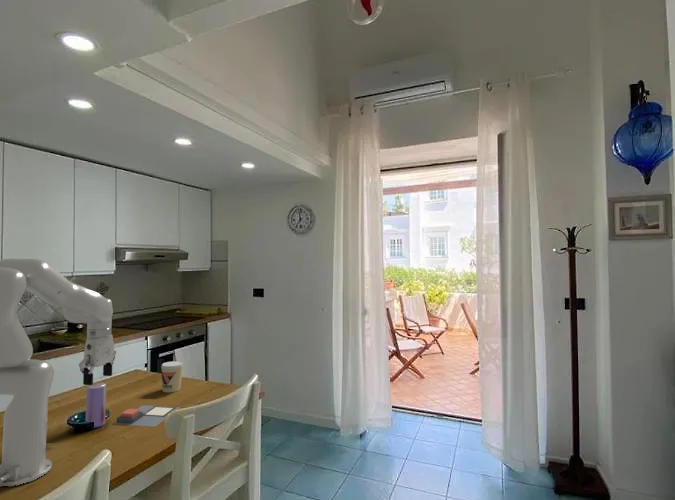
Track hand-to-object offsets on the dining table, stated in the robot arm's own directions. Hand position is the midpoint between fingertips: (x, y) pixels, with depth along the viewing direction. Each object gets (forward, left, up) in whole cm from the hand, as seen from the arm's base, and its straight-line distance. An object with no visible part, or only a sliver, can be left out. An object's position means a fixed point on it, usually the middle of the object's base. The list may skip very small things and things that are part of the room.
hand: (98, 380), depth 136 cm
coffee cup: (+40, -6, -17) cm, 44 cm away
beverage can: (-1, 0, -17) cm, 17 cm away
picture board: (+9, -14, -17) cm, 24 cm away
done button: (+5, -10, -16) cm, 19 cm away
